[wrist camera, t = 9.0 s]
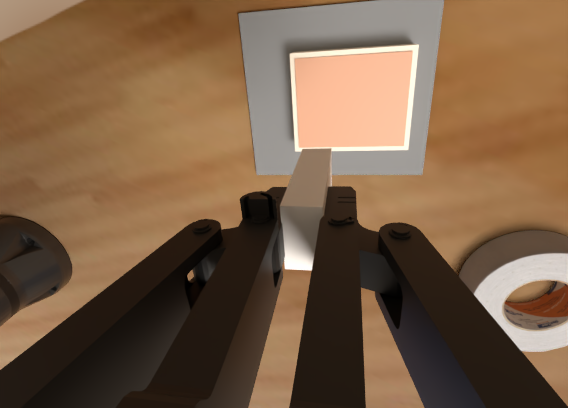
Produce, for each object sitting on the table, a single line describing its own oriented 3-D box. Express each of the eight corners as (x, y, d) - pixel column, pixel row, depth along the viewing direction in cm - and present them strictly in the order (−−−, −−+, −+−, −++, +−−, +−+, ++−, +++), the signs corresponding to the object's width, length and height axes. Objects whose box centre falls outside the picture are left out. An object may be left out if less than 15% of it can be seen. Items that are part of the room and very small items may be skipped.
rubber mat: (257, 173, 43) (256, 174, 43) (239, 13, 35) (238, 13, 34) (421, 173, 39) (422, 174, 39) (443, -6, 31) (444, -7, 31)
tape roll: (589, 215, 38) (620, 239, 34) (593, 312, 44) (621, 344, 39) (447, 245, 43) (458, 269, 39) (467, 329, 49) (479, 359, 44)
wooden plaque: (294, 152, 37) (408, 150, 35) (289, 53, 32) (419, 44, 30) (298, 143, 40) (404, 141, 37) (294, 51, 35) (413, 43, 33)
